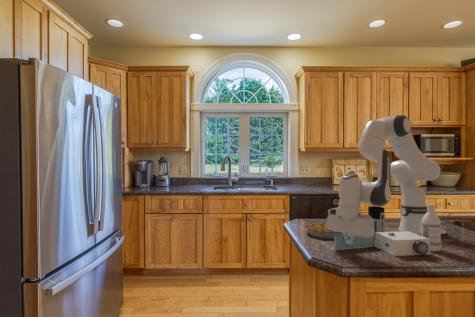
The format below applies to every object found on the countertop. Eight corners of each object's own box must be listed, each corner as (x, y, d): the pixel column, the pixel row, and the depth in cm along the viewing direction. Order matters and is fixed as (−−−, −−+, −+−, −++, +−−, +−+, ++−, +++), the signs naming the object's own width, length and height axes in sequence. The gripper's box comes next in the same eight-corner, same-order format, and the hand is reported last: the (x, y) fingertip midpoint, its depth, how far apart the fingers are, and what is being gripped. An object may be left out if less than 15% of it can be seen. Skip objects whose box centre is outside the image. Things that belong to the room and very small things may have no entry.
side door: (375, 246, 135) (375, 232, 135) (335, 250, 130) (335, 235, 130) (372, 245, 137) (372, 230, 137) (333, 249, 132) (333, 234, 132)
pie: (352, 241, 145) (352, 231, 145) (306, 239, 149) (306, 229, 149) (345, 230, 166) (345, 221, 166) (305, 228, 171) (305, 220, 171)
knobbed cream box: (408, 245, 137) (408, 229, 137) (434, 256, 122) (434, 238, 122) (375, 246, 136) (375, 230, 136) (397, 258, 120) (397, 240, 120)
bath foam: (423, 246, 137) (423, 202, 136) (441, 249, 132) (441, 203, 132) (420, 249, 131) (420, 204, 131) (439, 252, 127) (439, 205, 127)
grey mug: (381, 235, 156) (381, 206, 156) (394, 242, 142) (394, 211, 142) (364, 234, 156) (364, 206, 156) (375, 242, 142) (375, 211, 142)
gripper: (376, 214, 123) (376, 248, 123) (332, 208, 139) (332, 238, 139) (369, 216, 119) (369, 251, 119) (324, 209, 135) (324, 240, 134)
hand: (349, 244), depth 129 cm, fingers closed
